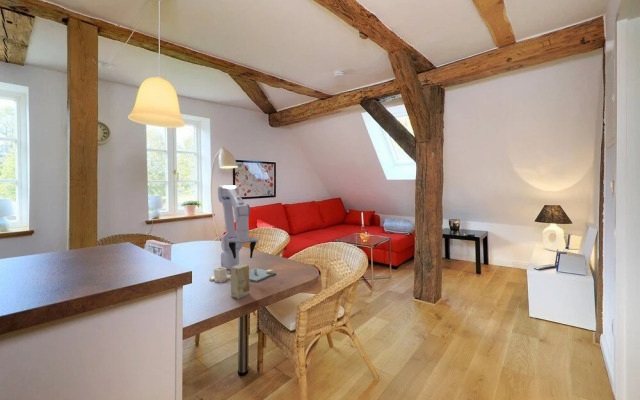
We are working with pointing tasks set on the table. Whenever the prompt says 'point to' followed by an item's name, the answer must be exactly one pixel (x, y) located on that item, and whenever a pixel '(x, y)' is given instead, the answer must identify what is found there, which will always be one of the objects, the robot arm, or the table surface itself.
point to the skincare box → (239, 281)
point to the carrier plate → (259, 274)
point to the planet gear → (220, 275)
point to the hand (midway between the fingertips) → (243, 257)
